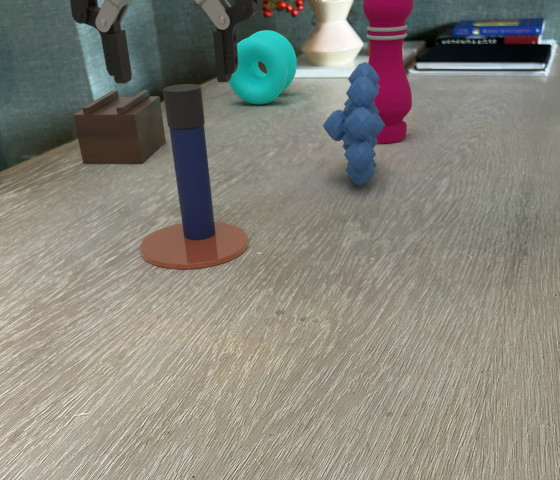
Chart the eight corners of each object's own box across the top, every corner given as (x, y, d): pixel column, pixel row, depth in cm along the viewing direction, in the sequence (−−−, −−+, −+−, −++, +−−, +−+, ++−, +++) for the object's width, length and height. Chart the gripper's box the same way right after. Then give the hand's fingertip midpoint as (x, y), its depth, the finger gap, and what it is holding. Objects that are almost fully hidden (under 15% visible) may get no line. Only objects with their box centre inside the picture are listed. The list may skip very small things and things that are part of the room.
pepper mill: (421, 137, 89) (433, -39, 78) (380, 148, 86) (387, -34, 75) (384, 127, 94) (391, -39, 83) (344, 137, 91) (346, -35, 80)
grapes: (327, 163, 82) (327, 56, 75) (383, 163, 81) (388, 54, 74) (318, 196, 72) (316, 76, 65) (381, 196, 71) (386, 75, 64)
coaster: (157, 278, 57) (156, 273, 57) (129, 238, 65) (128, 233, 64) (265, 254, 60) (264, 249, 60) (225, 218, 68) (225, 214, 68)
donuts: (299, 93, 116) (297, 28, 110) (286, 106, 108) (284, 37, 102) (243, 93, 118) (239, 29, 112) (227, 106, 110) (221, 38, 104)
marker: (194, 91, 55) (205, 83, 57) (157, 91, 55) (170, 84, 58) (210, 241, 62) (220, 227, 65) (178, 239, 63) (188, 226, 65)
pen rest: (142, 163, 85) (133, 107, 81) (82, 163, 86) (71, 107, 82) (165, 141, 93) (158, 89, 89) (111, 141, 94) (102, 90, 91)
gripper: (256, -177, 47) (268, 71, 56) (67, -164, 49) (108, 73, 59) (233, -190, 41) (250, 91, 50) (18, -174, 43) (72, 92, 52)
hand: (173, 81), depth 54 cm, fingers open, 8 cm apart
